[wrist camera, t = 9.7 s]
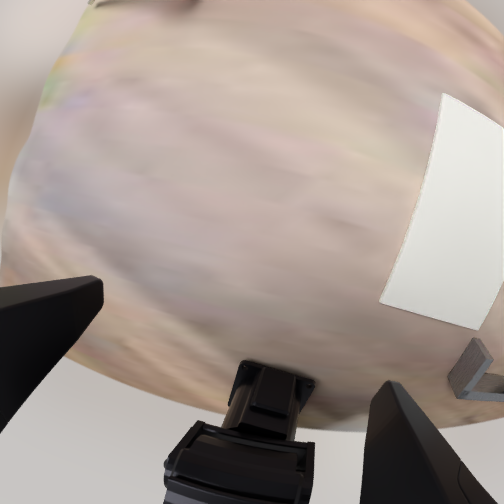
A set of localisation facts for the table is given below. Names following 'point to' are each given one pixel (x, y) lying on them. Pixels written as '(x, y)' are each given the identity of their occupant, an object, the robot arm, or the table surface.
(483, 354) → the cradle stand
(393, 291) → the felt pad
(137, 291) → the table surface
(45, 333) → the robot arm
